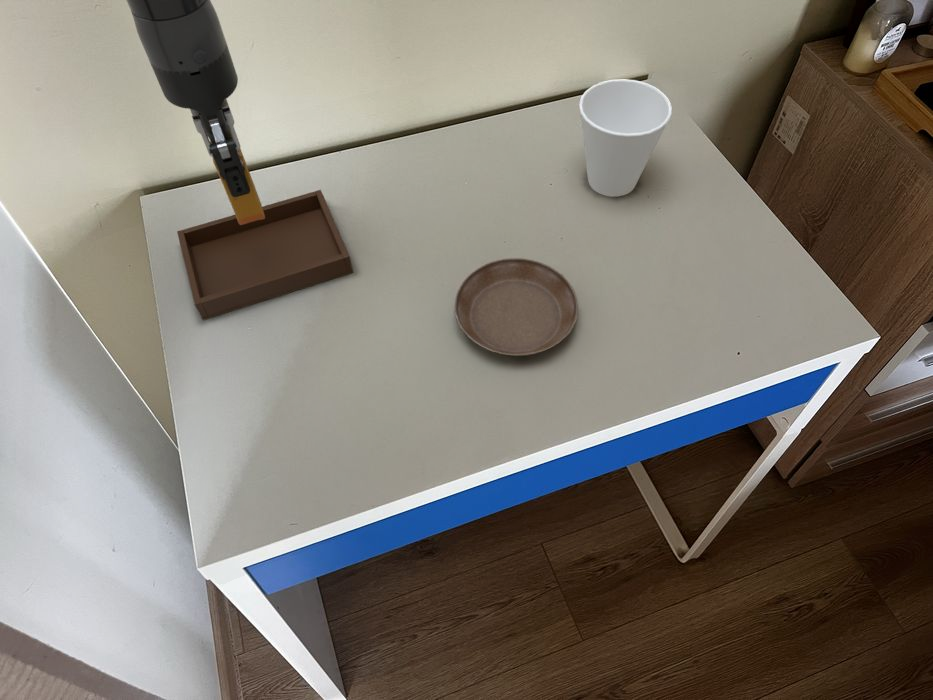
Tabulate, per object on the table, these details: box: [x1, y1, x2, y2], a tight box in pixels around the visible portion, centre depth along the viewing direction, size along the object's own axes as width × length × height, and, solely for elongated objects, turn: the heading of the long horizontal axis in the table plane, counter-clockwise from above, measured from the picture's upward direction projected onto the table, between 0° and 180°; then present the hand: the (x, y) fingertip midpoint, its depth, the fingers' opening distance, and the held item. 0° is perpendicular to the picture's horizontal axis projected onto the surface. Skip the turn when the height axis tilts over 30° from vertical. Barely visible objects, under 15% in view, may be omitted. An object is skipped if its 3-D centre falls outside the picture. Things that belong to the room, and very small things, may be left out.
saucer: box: [454, 257, 579, 357], centre depth 85 cm, size 15×15×3 cm
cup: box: [578, 78, 673, 198], centre depth 95 cm, size 12×12×12 cm
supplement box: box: [211, 148, 265, 225], centre depth 82 cm, size 3×3×10 cm
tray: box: [176, 189, 354, 321], centre depth 92 cm, size 20×14×3 cm
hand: (237, 182), depth 82 cm, fingers closed on supplement box, 3 cm apart
